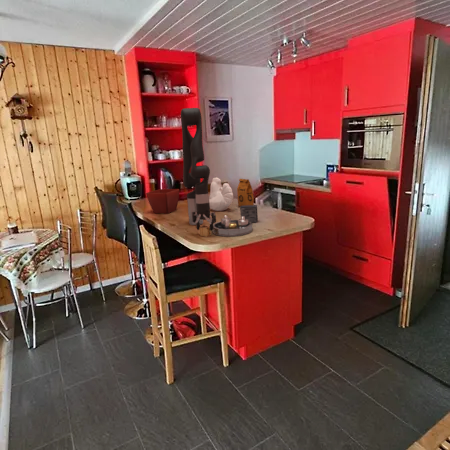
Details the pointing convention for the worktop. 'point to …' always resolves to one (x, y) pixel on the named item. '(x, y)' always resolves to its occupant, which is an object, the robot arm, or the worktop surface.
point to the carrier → (232, 227)
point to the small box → (249, 213)
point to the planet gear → (205, 230)
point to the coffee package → (245, 193)
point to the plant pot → (163, 200)
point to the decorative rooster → (220, 195)
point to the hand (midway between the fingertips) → (205, 229)
